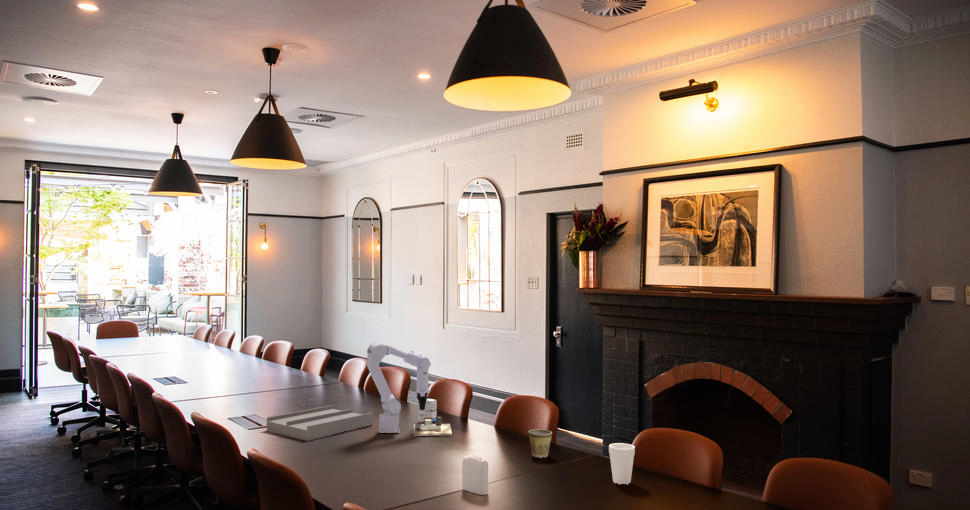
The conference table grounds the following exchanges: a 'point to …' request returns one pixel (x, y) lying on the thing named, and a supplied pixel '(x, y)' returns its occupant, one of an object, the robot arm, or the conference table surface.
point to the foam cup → (621, 462)
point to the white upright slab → (475, 474)
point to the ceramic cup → (540, 442)
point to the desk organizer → (317, 422)
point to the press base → (444, 430)
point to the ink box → (429, 410)
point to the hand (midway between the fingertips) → (422, 408)
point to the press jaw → (427, 421)
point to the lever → (430, 427)
